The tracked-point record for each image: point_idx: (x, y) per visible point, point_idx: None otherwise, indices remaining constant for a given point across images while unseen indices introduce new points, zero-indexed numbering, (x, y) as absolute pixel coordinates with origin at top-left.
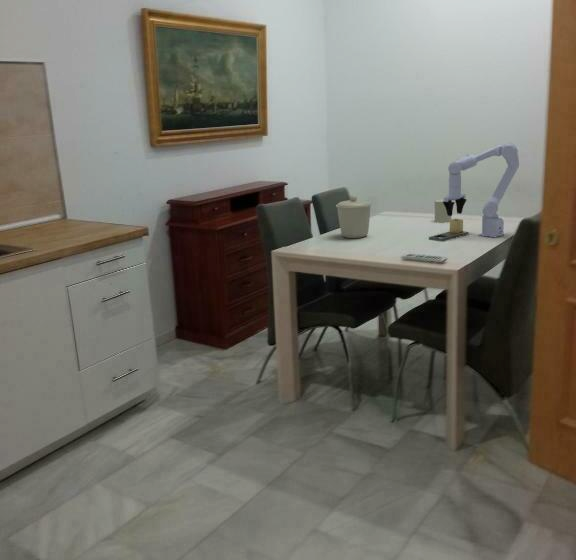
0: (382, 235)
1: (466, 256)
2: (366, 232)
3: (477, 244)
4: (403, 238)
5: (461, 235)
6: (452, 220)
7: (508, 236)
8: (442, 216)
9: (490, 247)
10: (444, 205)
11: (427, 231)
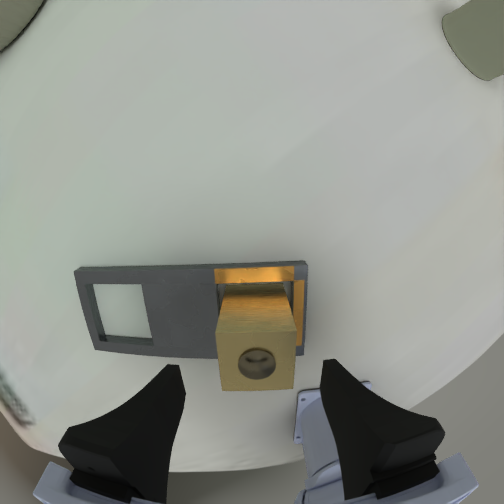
0: (50, 40)
1: None
2: (3, 40)
3: None
4: (36, 152)
5: None
6: (218, 355)
7: None
8: (473, 44)
9: None
10: (96, 420)
11: (235, 94)
